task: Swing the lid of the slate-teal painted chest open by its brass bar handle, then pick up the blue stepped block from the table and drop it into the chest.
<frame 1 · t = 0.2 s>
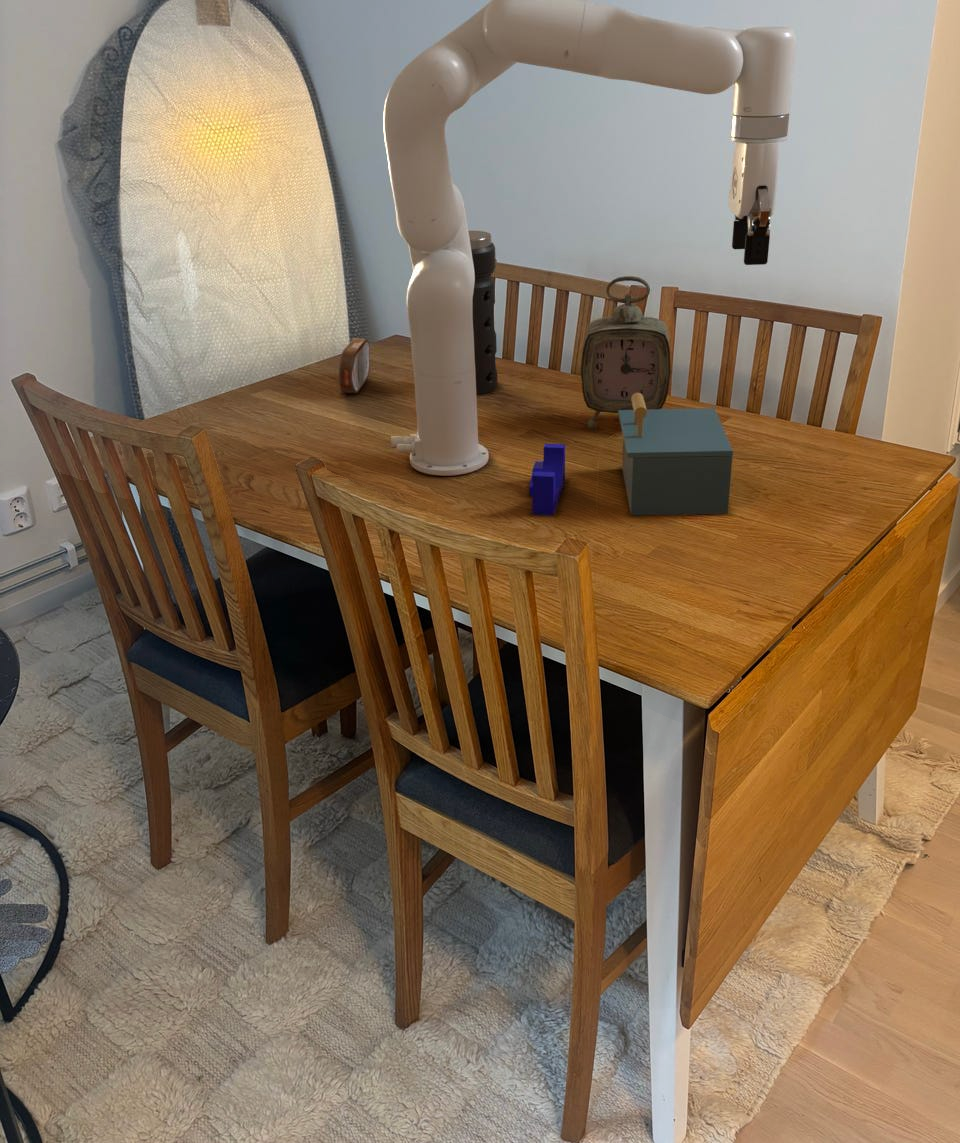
hand: (748, 256, 154), 31 cm above the table, tool pointing down, fingers open, 9 cm apart
tabletop clock: (624, 424, 184), on the table
blue stepped block: (544, 497, 159), on the table
chest: (672, 490, 159), on the table
muzzle brake: (471, 388, 203), on the table
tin: (357, 387, 205), on the table
lid: (673, 416, 154), point 12 cm above the table, hinge at 0.0°
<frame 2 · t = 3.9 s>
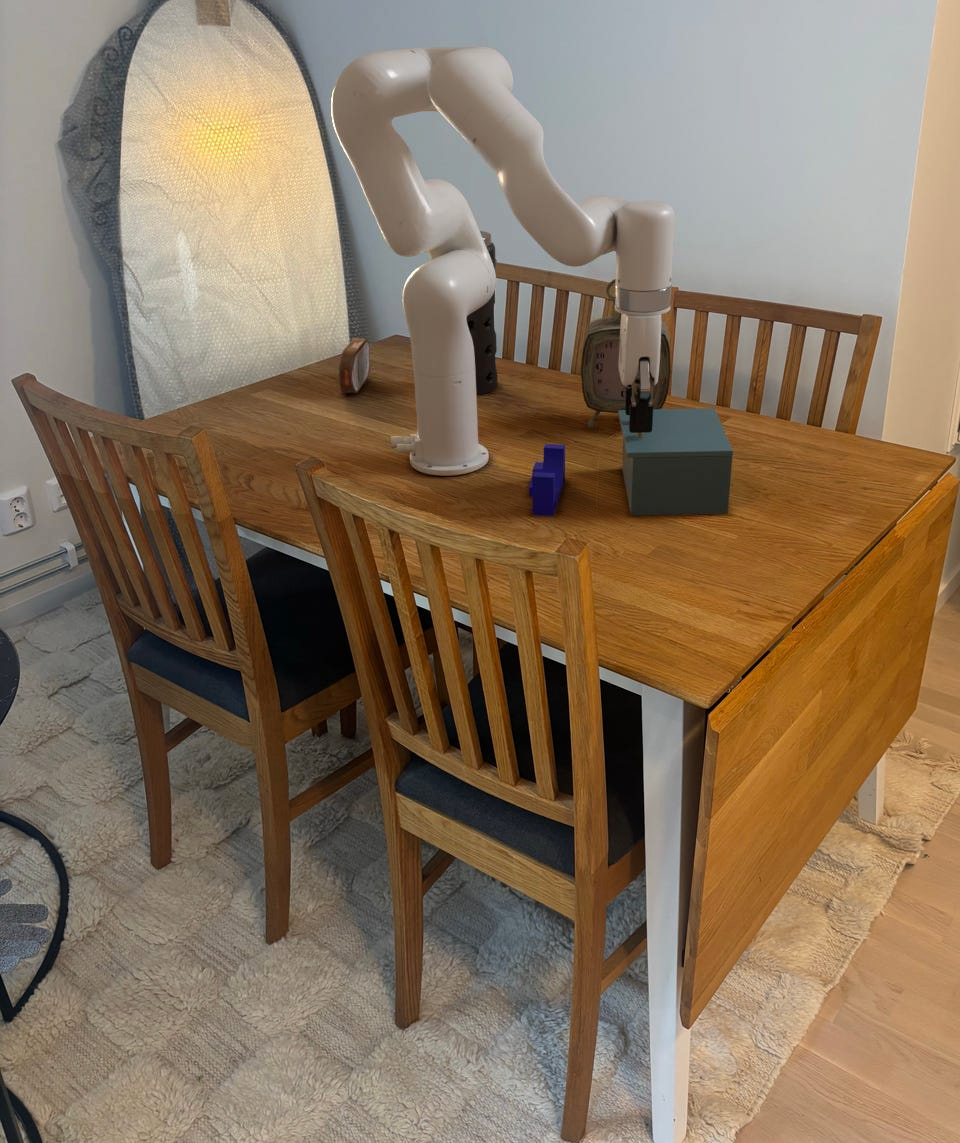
hand: (638, 421, 154), 11 cm above the table, tool pointing down, fingers closed on lid, 6 cm apart
lid: (673, 416, 154), point 12 cm above the table, hinge at 0.0°, touching gripper
everything else where it was.
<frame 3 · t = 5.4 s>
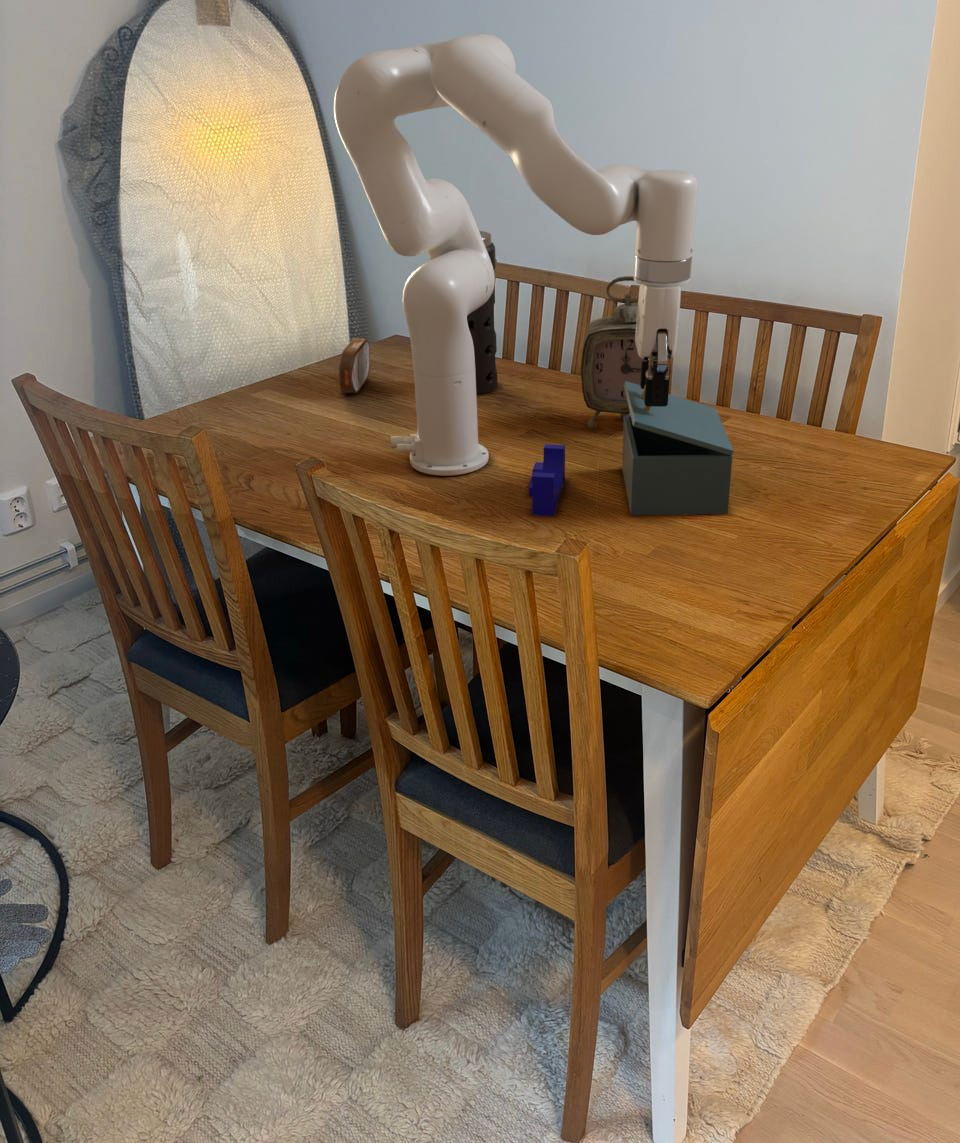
hand: (653, 395, 152), 15 cm above the table, tool pointing down, fingers closed on lid, 6 cm apart
lid: (682, 402, 153), point 14 cm above the table, hinge at 18.7°, touching gripper
everything else where it was.
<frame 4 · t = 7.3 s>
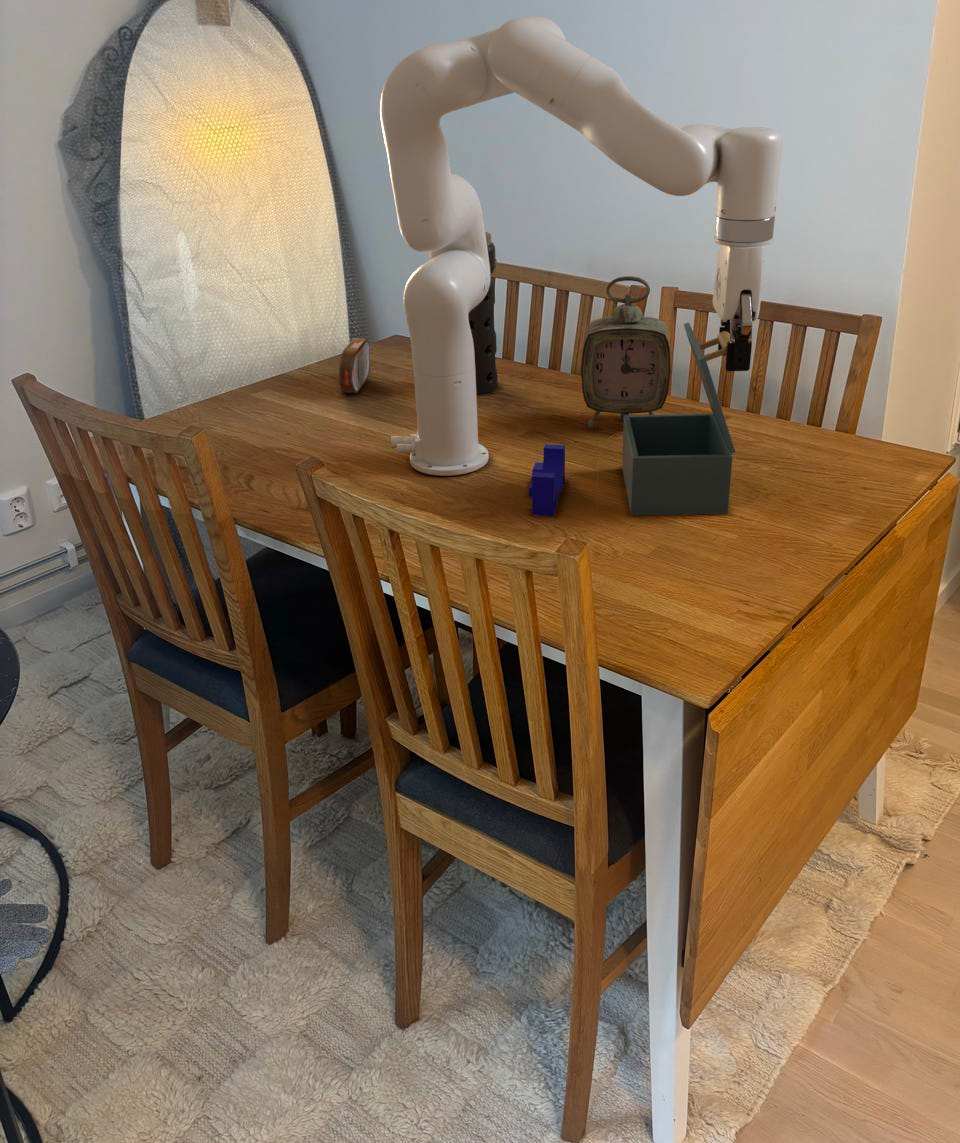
hand: (733, 361, 149), 20 cm above the table, tool pointing down, fingers closed on lid, 6 cm apart
lid: (724, 380, 151), point 17 cm above the table, hinge at 69.7°, touching gripper
everything else where it was.
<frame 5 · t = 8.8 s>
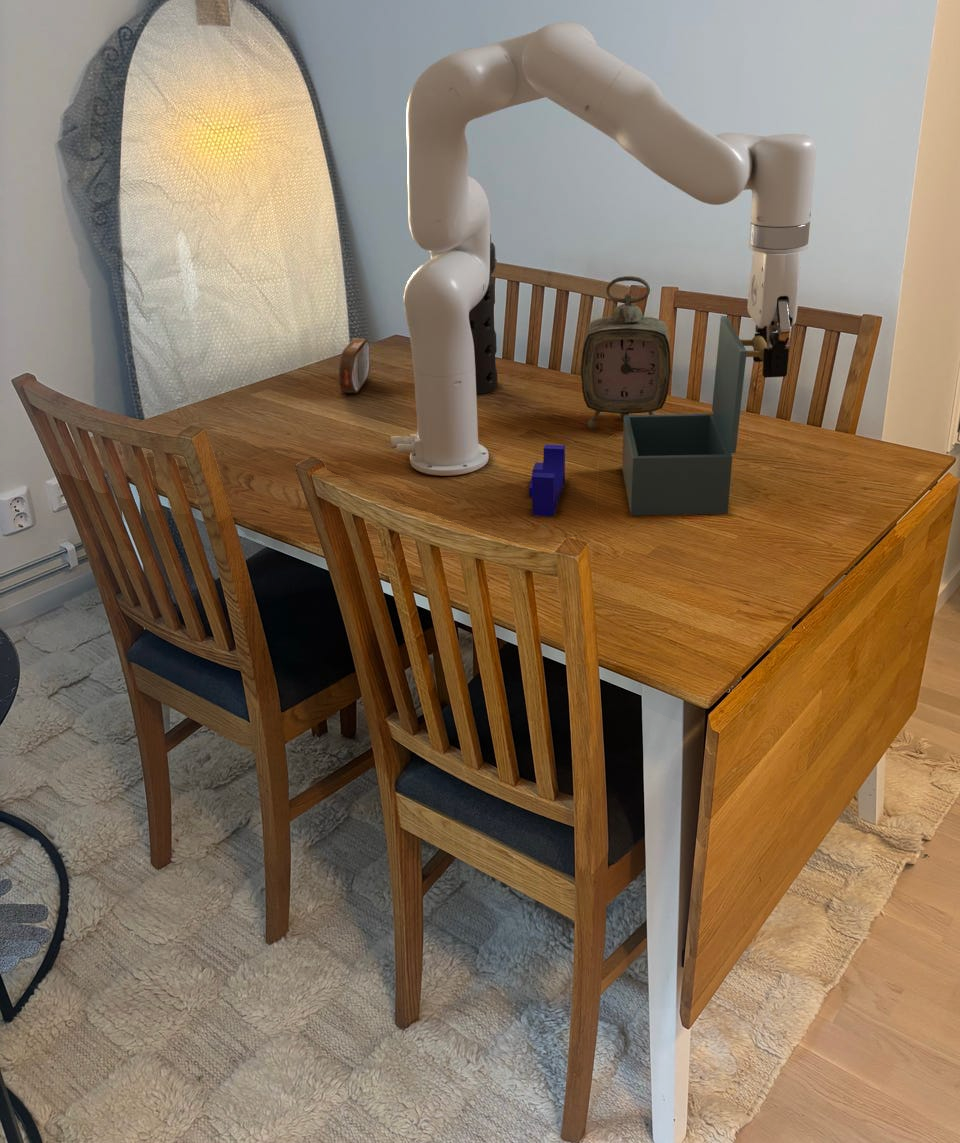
hand: (769, 367, 150), 19 cm above the table, tool pointing down, fingers closed on lid, 6 cm apart
lid: (744, 382, 151), point 16 cm above the table, hinge at 91.3°, touching gripper
everything else where it was.
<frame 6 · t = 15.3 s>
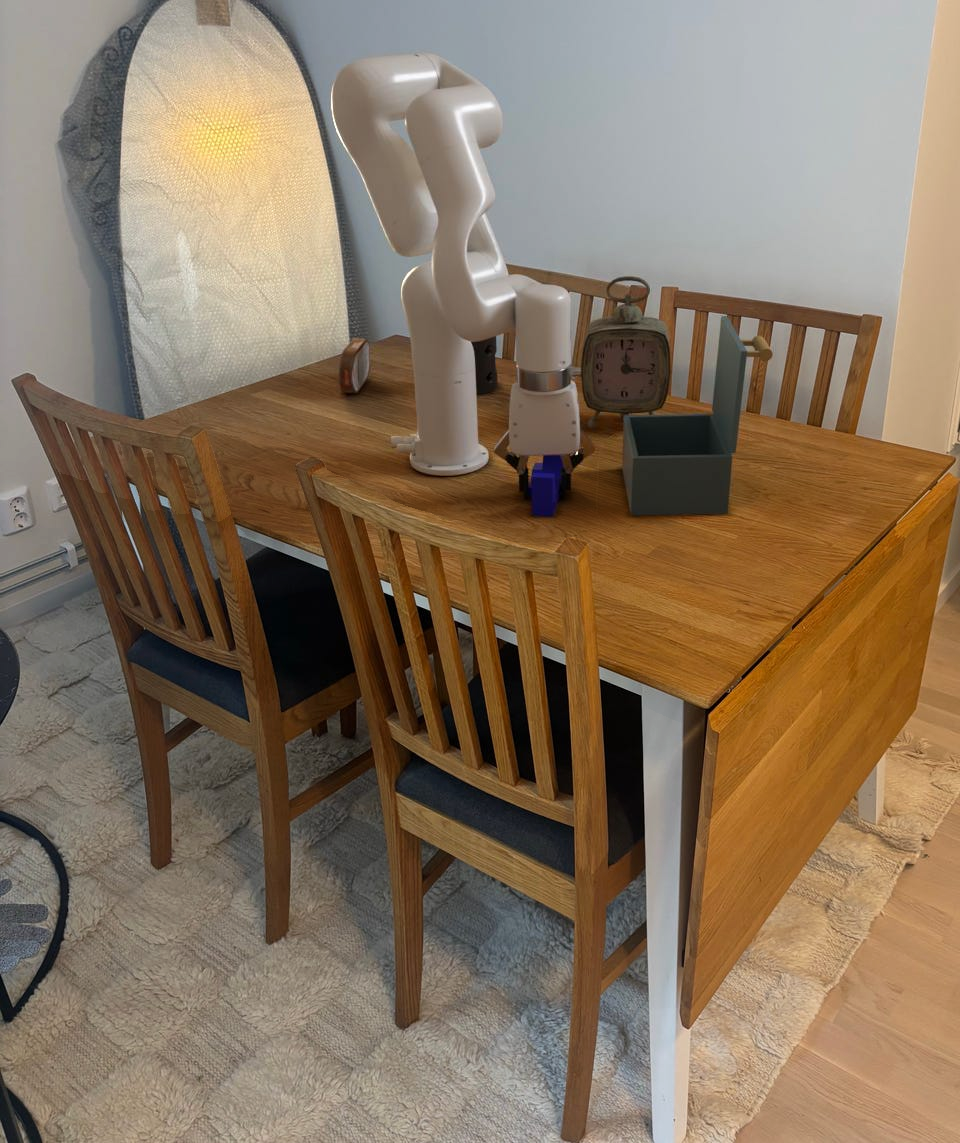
hand: (545, 494, 159), 0 cm above the table, tool pointing down, fingers closed on blue stepped block, 4 cm apart
blue stepped block: (543, 499, 159), on the table, touching gripper
lid: (744, 382, 151), point 16 cm above the table, hinge at 91.5°
everything else where it was.
when the fingers open (8 cm above the table, at t = 20.9 s): blue stepped block drops 7 cm, resting on chest.
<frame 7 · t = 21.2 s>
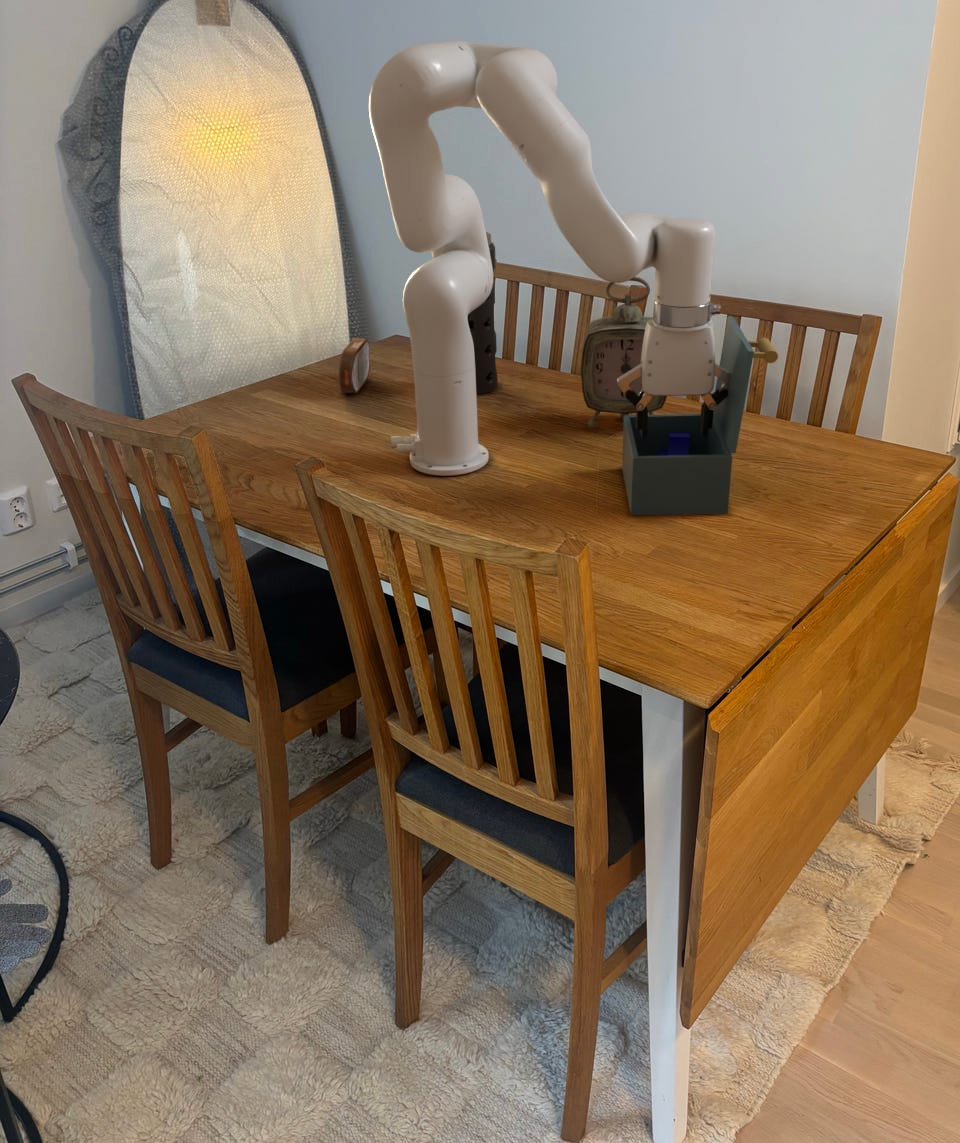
hand: (673, 432, 155), 9 cm above the table, tool pointing down, fingers open, 8 cm apart
blue stepped block: (671, 487, 159), point 1 cm above the table, touching chest
lid: (747, 384, 151), point 16 cm above the table, hinge at 95.2°, touching gripper
everything else where it was.
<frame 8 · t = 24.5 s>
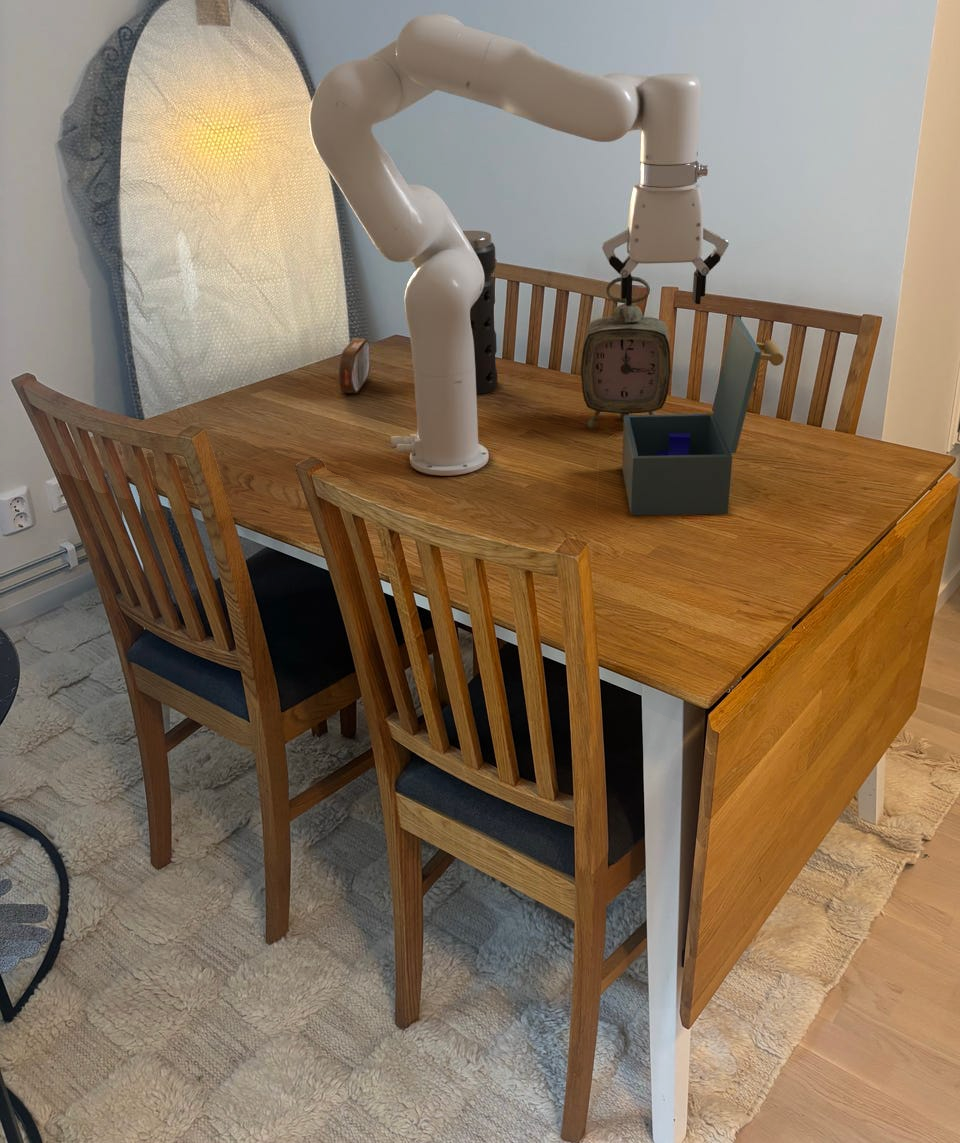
hand: (662, 302, 152), 26 cm above the table, tool pointing down, fingers open, 9 cm apart
lid: (751, 385, 151), point 16 cm above the table, hinge at 99.0°
everything else where it was.
at the end: lid at +99° (first picture: +0°); blue stepped block inside the target area in the chest (0.4 cm from its centre), point 0.6 cm above the chest's base; the gripper is holding nothing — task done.
